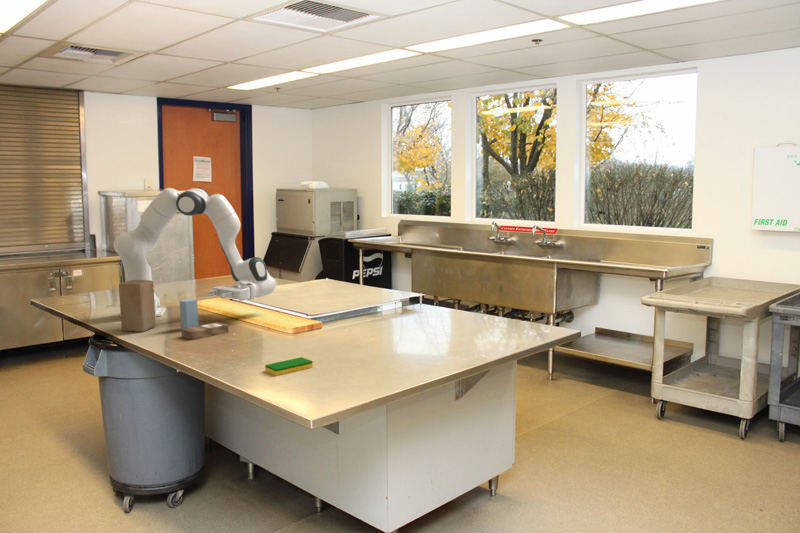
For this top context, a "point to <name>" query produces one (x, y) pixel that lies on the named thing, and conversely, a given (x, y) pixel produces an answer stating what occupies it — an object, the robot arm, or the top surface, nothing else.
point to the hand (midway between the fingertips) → (215, 295)
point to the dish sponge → (288, 366)
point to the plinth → (204, 331)
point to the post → (188, 313)
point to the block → (137, 305)
